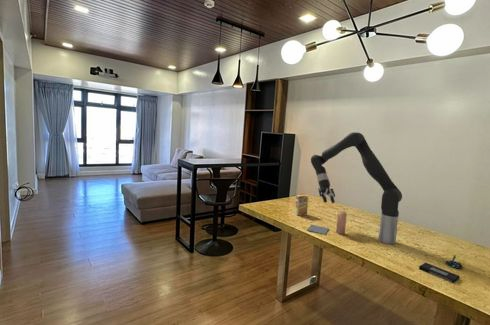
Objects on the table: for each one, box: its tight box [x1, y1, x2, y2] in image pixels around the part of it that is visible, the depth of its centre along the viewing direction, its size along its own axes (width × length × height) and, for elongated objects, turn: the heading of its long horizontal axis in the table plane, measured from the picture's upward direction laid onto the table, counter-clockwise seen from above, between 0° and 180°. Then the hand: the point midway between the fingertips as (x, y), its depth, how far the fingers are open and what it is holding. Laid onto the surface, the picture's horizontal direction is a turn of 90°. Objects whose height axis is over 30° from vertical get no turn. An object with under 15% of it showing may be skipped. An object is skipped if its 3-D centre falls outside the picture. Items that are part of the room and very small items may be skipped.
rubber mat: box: [306, 224, 330, 236], centre depth 178 cm, size 12×12×1 cm
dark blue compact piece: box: [445, 254, 463, 270], centre depth 138 cm, size 8×7×8 cm
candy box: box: [294, 194, 309, 216], centre depth 209 cm, size 9×4×15 cm, turn 107°
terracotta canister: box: [335, 210, 348, 236], centre depth 174 cm, size 5×5×14 cm
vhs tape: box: [418, 262, 460, 284], centre depth 129 cm, size 8×14×2 cm, turn 34°
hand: (329, 202), depth 183 cm, fingers open, 8 cm apart
